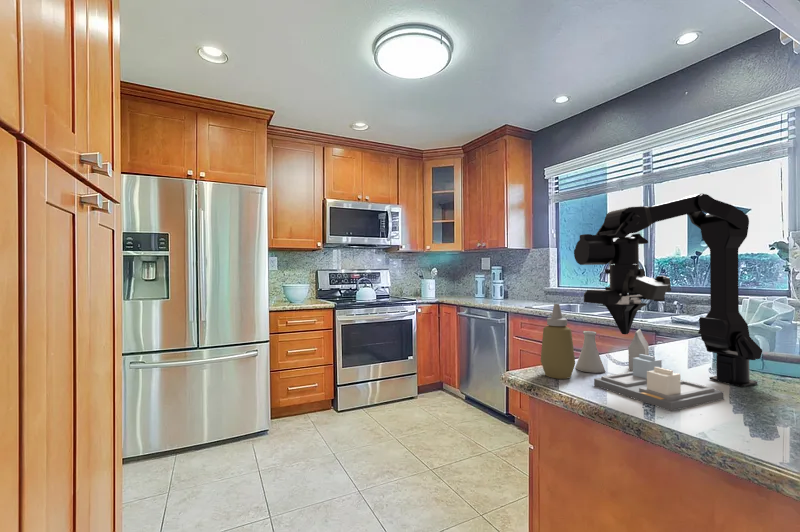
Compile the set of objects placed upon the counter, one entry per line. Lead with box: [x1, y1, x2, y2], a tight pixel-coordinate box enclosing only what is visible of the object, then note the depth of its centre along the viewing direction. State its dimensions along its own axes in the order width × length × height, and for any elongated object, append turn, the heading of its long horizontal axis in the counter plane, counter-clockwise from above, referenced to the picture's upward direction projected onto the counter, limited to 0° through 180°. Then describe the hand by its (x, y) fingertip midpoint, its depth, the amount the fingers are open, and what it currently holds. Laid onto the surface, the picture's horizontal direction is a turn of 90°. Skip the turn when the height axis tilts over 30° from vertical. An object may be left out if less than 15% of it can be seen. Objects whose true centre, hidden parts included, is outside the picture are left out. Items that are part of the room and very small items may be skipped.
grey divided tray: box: [593, 371, 725, 412], centre depth 82 cm, size 16×17×2 cm
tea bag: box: [628, 328, 650, 371], centre depth 101 cm, size 4×7×10 cm, turn 140°
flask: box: [575, 330, 606, 374], centre depth 99 cm, size 7×7×10 cm
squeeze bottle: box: [540, 303, 576, 380], centre depth 94 cm, size 8×8×18 cm
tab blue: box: [632, 354, 663, 379], centre depth 87 cm, size 4×4×5 cm
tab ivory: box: [647, 367, 681, 396], centre depth 76 cm, size 4×4×5 cm
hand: (624, 334), depth 85 cm, fingers closed
